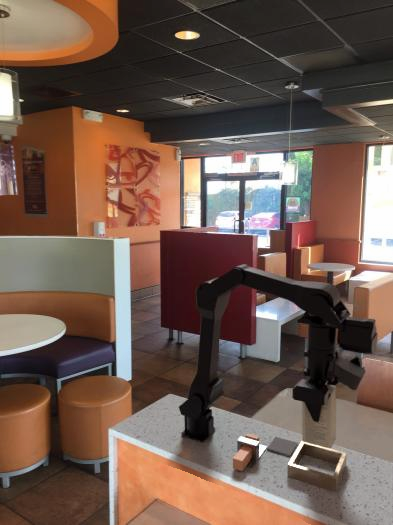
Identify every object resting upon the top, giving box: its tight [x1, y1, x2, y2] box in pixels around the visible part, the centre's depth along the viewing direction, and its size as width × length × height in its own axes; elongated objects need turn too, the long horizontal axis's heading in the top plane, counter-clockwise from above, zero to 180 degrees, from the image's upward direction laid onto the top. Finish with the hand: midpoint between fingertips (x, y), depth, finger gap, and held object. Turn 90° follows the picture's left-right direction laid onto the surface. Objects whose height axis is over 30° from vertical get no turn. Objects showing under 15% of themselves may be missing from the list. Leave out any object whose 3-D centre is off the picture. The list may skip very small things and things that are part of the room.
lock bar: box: [232, 432, 260, 472], centre depth 99 cm, size 3×9×4 cm, turn 150°
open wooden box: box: [286, 440, 348, 493], centre depth 95 cm, size 10×10×3 cm
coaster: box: [266, 436, 299, 458], centre depth 105 cm, size 6×6×1 cm
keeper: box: [236, 436, 268, 469], centre depth 102 cm, size 5×9×4 cm, turn 150°
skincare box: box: [301, 384, 337, 449], centre depth 93 cm, size 6×4×12 cm
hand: (319, 416), depth 93 cm, fingers closed on skincare box, 4 cm apart
